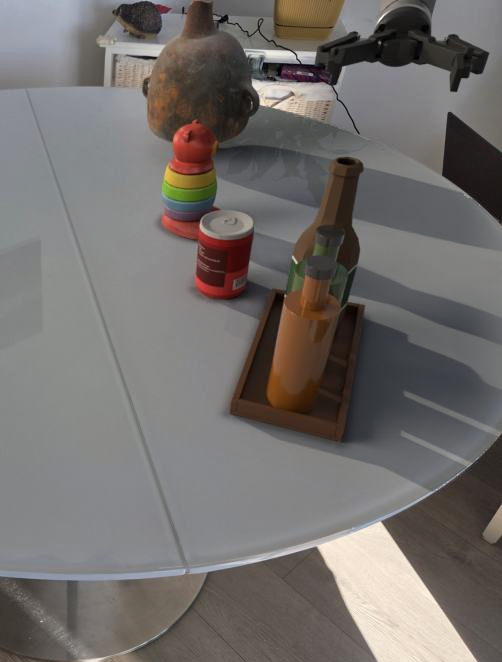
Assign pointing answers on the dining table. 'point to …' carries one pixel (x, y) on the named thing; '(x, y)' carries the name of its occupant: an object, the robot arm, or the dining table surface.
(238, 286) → the canned food
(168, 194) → the stacking bear
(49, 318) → the dining table surface
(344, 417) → the tray
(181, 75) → the jug
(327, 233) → the green bottle
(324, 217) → the beer bottle
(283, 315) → the amber bottle
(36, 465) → the dining table surface
